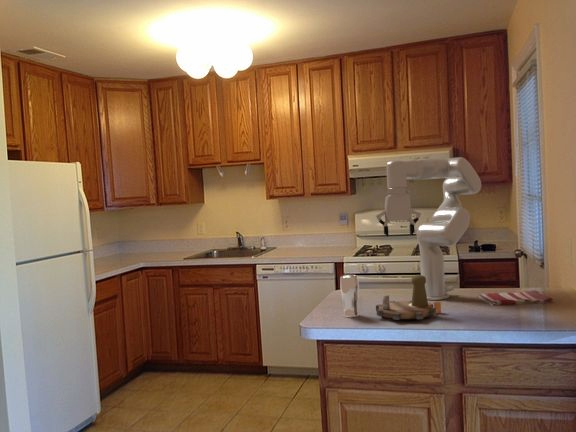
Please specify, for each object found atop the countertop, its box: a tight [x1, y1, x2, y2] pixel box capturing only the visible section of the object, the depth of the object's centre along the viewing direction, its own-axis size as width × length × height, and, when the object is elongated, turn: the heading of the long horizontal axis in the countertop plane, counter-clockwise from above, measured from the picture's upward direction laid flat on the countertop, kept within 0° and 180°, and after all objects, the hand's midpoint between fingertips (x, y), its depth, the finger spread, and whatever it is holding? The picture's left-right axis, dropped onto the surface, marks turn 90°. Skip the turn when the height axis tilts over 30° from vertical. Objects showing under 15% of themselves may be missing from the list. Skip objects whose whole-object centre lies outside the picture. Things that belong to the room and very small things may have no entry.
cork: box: [411, 274, 429, 307], centre depth 183 cm, size 6×6×11 cm
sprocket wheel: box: [375, 294, 437, 321], centre depth 183 cm, size 22×22×7 cm
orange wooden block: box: [399, 301, 442, 321], centre depth 184 cm, size 19×12×4 cm, turn 112°
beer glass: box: [339, 274, 360, 318], centre depth 187 cm, size 7×7×15 cm
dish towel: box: [477, 290, 554, 306], centre depth 199 cm, size 17×23×3 cm
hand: (399, 235), depth 197 cm, fingers open, 9 cm apart
